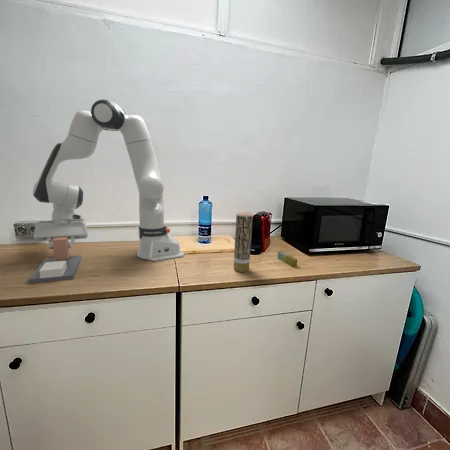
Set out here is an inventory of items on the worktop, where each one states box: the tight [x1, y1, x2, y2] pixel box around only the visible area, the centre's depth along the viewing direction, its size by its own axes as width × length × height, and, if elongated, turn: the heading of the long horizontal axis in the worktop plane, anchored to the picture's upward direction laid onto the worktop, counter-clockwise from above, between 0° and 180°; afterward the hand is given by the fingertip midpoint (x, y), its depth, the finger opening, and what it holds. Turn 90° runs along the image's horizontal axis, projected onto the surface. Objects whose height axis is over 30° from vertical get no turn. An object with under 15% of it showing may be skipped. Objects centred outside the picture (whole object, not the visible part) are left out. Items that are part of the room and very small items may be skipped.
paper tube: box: [233, 211, 254, 273], centre depth 113 cm, size 7×7×25 cm
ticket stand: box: [28, 255, 82, 284], centre depth 107 cm, size 14×22×5 cm, turn 20°
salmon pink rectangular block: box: [51, 237, 71, 261], centre depth 113 cm, size 5×4×9 cm
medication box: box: [277, 250, 298, 268], centre depth 126 cm, size 12×3×4 cm, turn 24°
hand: (60, 247), depth 113 cm, fingers open, 5 cm apart
